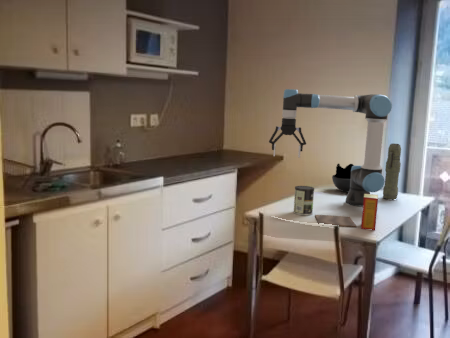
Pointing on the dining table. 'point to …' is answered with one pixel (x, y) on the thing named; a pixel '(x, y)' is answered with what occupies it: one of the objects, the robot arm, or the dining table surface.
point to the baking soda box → (369, 211)
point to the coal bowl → (342, 177)
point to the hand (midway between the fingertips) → (286, 156)
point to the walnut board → (336, 220)
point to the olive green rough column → (392, 172)
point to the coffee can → (303, 200)
